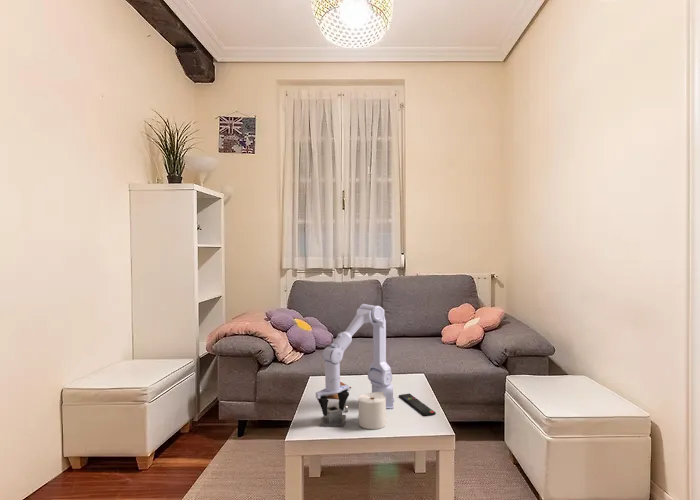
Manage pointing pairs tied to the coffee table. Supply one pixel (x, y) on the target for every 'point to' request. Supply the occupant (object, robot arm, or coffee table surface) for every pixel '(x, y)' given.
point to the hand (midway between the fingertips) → (333, 412)
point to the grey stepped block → (333, 414)
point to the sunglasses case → (335, 396)
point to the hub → (333, 424)
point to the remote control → (417, 405)
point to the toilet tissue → (372, 410)
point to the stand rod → (346, 408)
